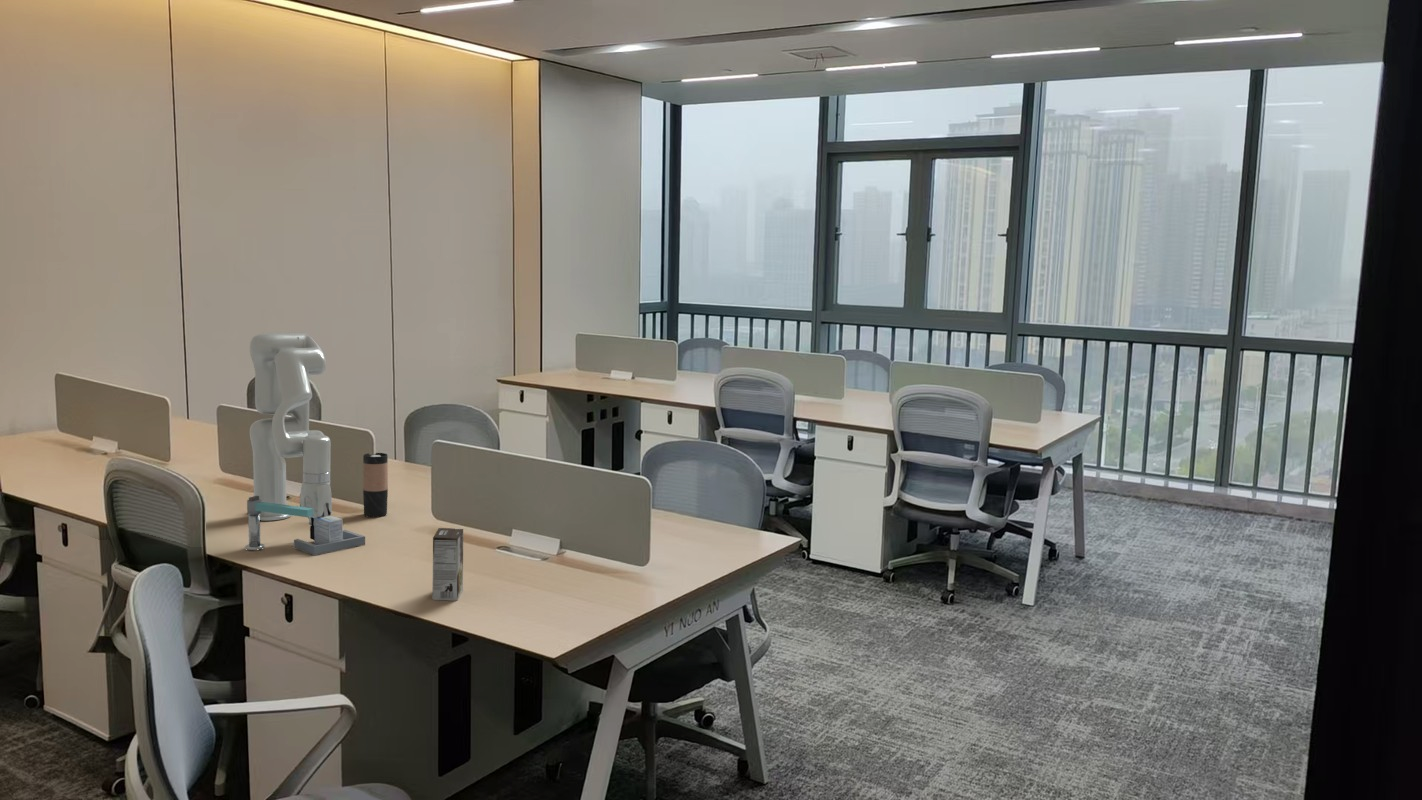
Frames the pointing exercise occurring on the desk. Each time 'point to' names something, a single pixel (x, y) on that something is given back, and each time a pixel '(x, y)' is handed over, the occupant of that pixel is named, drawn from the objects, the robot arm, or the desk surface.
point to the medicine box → (327, 529)
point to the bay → (331, 544)
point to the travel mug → (375, 484)
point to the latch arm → (276, 508)
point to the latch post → (254, 533)
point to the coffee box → (447, 564)
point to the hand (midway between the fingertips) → (316, 538)
